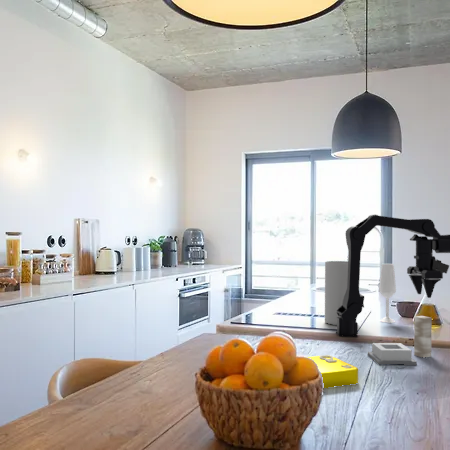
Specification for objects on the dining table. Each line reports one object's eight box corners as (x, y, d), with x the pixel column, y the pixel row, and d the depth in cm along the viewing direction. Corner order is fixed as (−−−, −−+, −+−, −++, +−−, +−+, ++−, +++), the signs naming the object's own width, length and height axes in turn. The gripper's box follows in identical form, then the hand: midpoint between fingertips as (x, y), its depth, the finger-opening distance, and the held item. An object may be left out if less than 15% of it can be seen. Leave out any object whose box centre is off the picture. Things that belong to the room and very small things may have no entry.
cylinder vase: (353, 320, 213) (354, 261, 213) (358, 326, 201) (358, 263, 201) (323, 320, 215) (323, 260, 214) (326, 325, 202) (326, 263, 202)
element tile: (281, 374, 138) (281, 357, 138) (329, 369, 143) (329, 352, 143) (310, 392, 124) (310, 372, 124) (361, 385, 129) (361, 366, 129)
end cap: (378, 364, 147) (378, 351, 147) (367, 355, 158) (367, 342, 158) (416, 365, 147) (416, 351, 147) (402, 355, 158) (402, 342, 158)
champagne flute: (399, 322, 211) (399, 264, 211) (386, 323, 209) (386, 264, 209) (388, 319, 217) (388, 263, 217) (375, 320, 215) (376, 263, 215)
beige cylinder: (414, 355, 158) (414, 316, 158) (421, 353, 160) (422, 315, 160) (423, 357, 155) (424, 318, 155) (431, 356, 157) (431, 317, 157)
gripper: (457, 254, 176) (457, 299, 176) (435, 251, 195) (435, 292, 195) (425, 254, 176) (425, 299, 176) (406, 251, 195) (406, 292, 195)
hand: (424, 295), depth 185 cm, fingers open, 9 cm apart
